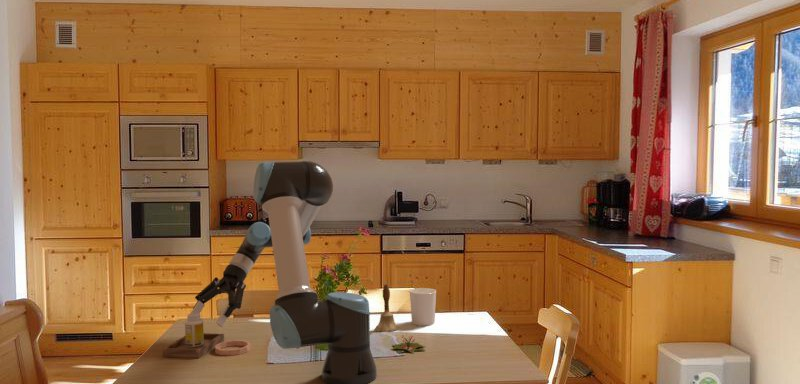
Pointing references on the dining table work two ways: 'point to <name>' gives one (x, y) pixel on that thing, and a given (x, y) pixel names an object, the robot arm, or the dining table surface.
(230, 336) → the dining table surface
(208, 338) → the walnut tray
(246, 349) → the terracotta ring
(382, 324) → the hand bell
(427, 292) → the candle holder
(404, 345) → the lily flower
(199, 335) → the supplement bottle
